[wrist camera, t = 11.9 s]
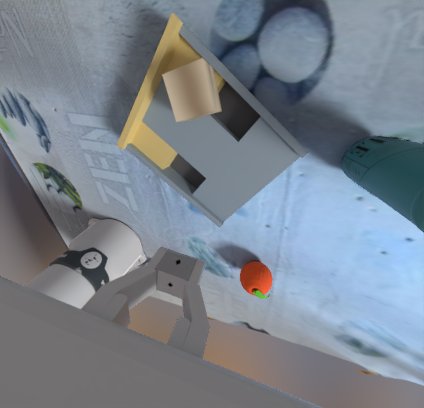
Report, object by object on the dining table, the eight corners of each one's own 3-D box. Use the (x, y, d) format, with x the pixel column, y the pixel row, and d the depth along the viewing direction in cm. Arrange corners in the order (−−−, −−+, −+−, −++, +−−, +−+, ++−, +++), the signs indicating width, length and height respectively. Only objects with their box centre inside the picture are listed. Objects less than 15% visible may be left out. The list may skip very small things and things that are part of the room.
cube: (190, 120, 26) (176, 122, 21) (179, 81, 23) (162, 74, 19) (221, 111, 24) (213, 111, 20) (213, 68, 22) (202, 57, 18)
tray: (302, 147, 26) (310, 153, 22) (223, 216, 36) (218, 230, 32) (188, 30, 23) (172, 12, 19) (135, 141, 33) (116, 145, 28)
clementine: (281, 271, 39) (284, 300, 33) (257, 282, 42) (257, 310, 36) (257, 250, 38) (256, 276, 32) (235, 262, 41) (231, 288, 35)
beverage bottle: (358, 185, 27) (532, 313, 10) (324, 162, 26) (442, 253, 9) (402, 149, 23) (789, 249, 6) (364, 122, 23) (662, 151, 6)
